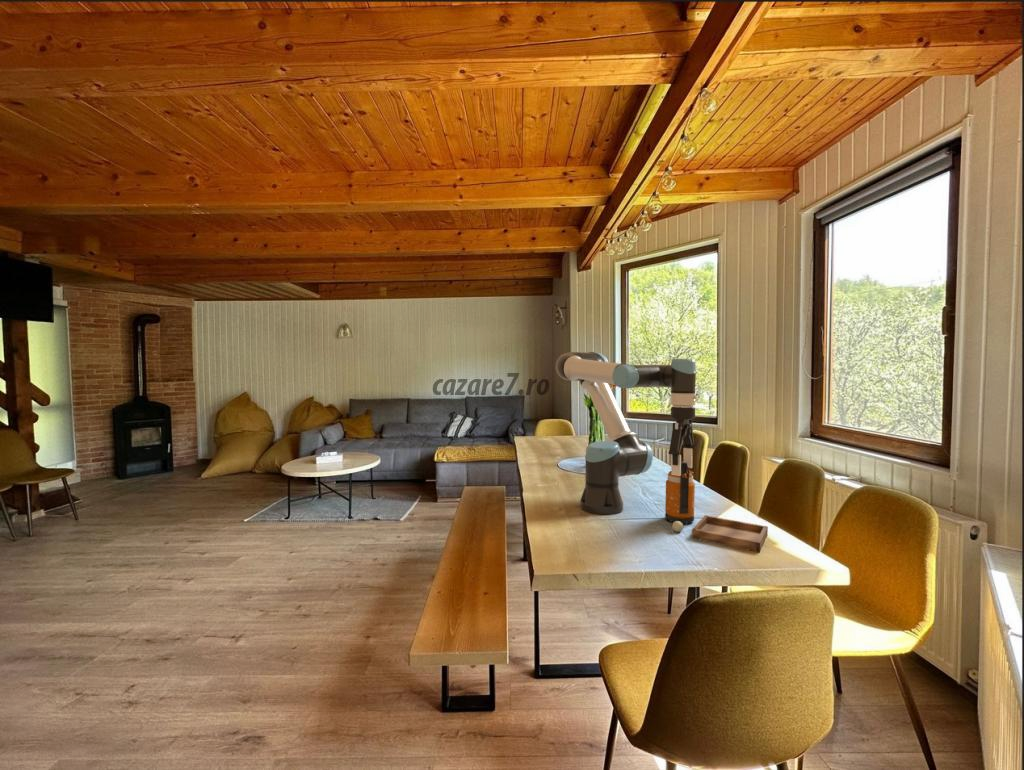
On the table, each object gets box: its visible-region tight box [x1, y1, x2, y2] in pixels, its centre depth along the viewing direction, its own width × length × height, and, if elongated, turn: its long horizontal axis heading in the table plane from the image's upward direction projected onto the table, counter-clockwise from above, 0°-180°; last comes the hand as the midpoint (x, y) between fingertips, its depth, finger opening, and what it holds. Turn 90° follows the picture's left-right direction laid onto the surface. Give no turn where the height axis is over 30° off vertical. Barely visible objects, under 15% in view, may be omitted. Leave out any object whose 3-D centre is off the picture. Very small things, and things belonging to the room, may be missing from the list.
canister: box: [664, 459, 696, 525], centre depth 154 cm, size 9×11×20 cm
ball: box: [671, 521, 684, 533], centre depth 145 cm, size 3×3×3 cm
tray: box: [691, 514, 769, 553], centre depth 141 cm, size 18×16×3 cm
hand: (682, 471), depth 153 cm, fingers open, 13 cm apart
